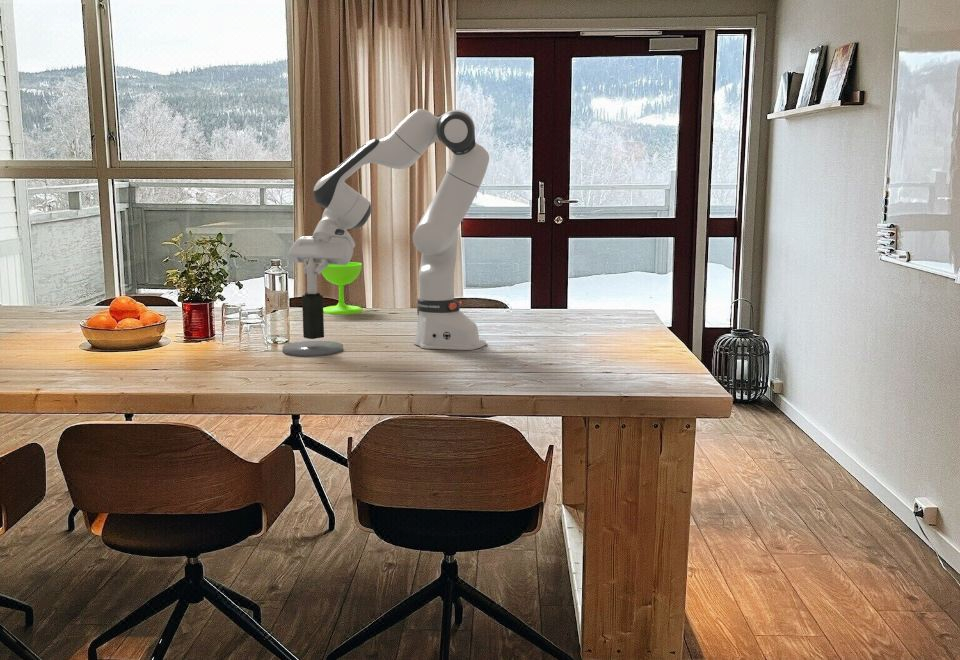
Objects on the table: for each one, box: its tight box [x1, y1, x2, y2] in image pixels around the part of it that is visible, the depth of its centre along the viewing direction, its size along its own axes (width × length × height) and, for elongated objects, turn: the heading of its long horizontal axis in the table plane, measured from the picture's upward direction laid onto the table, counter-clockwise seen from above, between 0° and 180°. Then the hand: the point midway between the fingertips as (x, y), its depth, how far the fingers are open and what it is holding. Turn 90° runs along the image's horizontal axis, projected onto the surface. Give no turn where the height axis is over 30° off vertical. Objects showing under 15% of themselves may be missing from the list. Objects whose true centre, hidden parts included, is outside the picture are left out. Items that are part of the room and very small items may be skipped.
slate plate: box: [281, 340, 344, 357], centre depth 279 cm, size 18×18×1 cm
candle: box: [301, 255, 325, 340], centre depth 278 cm, size 5×5×25 cm
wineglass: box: [318, 261, 364, 316], centre depth 351 cm, size 16×16×18 cm
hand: (311, 272), depth 276 cm, fingers closed on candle, 2 cm apart
